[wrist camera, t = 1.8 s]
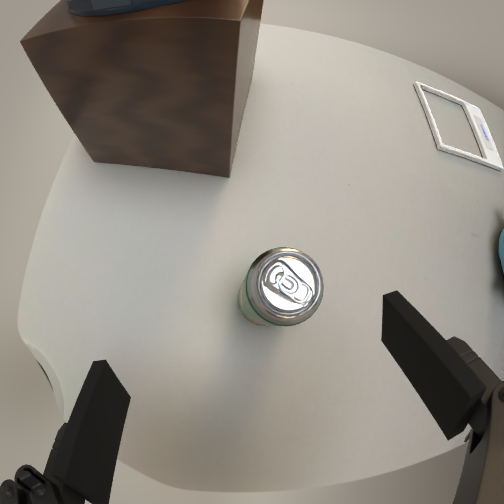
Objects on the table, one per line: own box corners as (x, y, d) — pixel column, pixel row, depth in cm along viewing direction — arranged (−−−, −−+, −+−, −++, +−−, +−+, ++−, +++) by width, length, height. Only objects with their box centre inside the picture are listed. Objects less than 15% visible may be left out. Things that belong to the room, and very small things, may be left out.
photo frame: (504, 168, 37) (441, 145, 36) (500, 170, 38) (437, 149, 37) (479, 107, 41) (416, 80, 39) (476, 110, 42) (413, 83, 40)
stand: (94, 162, 31) (19, 41, 12) (139, 69, 35) (115, -42, 16) (229, 178, 32) (240, 20, 13) (252, 77, 36) (271, -46, 17)
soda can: (257, 264, 30) (278, 226, 18) (297, 293, 30) (343, 274, 18) (227, 305, 29) (229, 293, 17) (269, 335, 28) (300, 342, 17)
